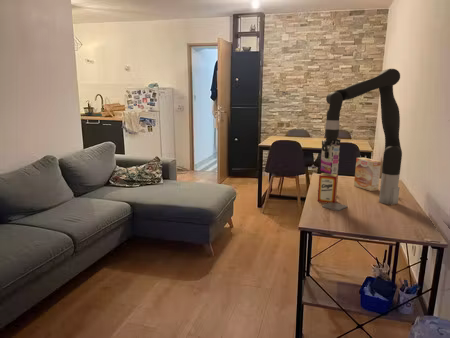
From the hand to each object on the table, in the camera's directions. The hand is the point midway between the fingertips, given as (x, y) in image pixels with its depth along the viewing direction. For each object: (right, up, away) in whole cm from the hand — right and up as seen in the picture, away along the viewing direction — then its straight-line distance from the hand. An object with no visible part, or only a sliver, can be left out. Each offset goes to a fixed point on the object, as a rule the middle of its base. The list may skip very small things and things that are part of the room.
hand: (330, 157), depth 201 cm
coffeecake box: (+34, -19, +35) cm, 53 cm away
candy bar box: (0, -9, +2) cm, 9 cm away
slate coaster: (+1, -28, -6) cm, 28 cm away
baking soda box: (0, -25, +5) cm, 26 cm away
